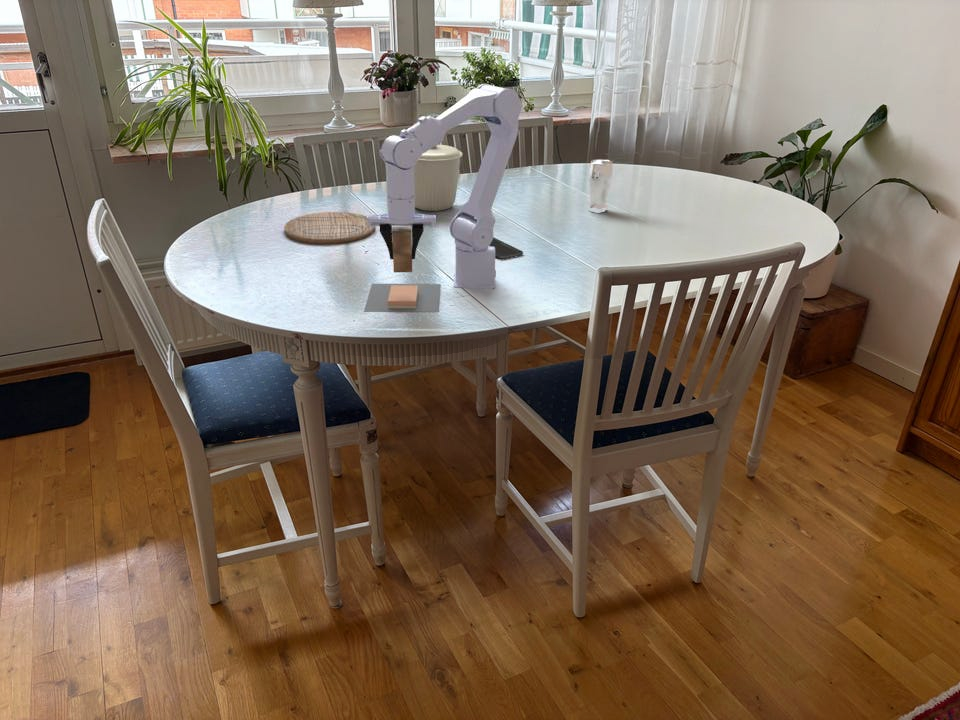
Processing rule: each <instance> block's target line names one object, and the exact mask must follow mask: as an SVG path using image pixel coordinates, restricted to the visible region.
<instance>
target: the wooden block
mask: <svg viewBox="0 0 960 720" xmlns="http://www.w3.org/2000/svg"><path fill="white" fill-rule="evenodd" d="M392 243H393V259H392V262H393V273H413V259H412V226H392Z"/></svg>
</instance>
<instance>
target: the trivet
mask: <svg viewBox="0 0 960 720" xmlns="http://www.w3.org/2000/svg"><path fill="white" fill-rule="evenodd" d="M283 227H284V234H285V236H286V237H288V238H289V239H290V240H292V241H295V242H298V243H303V244H309V245H339V244H346V243H354V242H357V241H361V240H364V239H366V238H368V237H370V236H372V235H373V234H374V233H375V232H376V226H372V227H367V215H363V214H360V213H354V212H347V211H346V212H345V211H325V212H324V211H323V212H316V213H308V214H304V215H303V214H302V215H300V216H296V217H295V218H292V219H289V220H288V221H287V222H286V223H285V225H284V226H283ZM374 231H375V232H374ZM373 232H374V233H373ZM372 233H373V234H372ZM371 234H372V235H371Z"/></svg>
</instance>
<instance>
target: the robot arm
mask: <svg viewBox="0 0 960 720" xmlns="http://www.w3.org/2000/svg"><path fill="white" fill-rule="evenodd" d="M522 109H523V103H522V102H521V99H520V96H519V95H518V93H517V91H516V90H514V89H513V88H508V87H507V88H505V87H501V86H495V85H491V84H490V83H482V84H480V85H478V86H477V87H476V88H473V89H471V90H470V91H469V92H468V93H467V95H465V96H464V97H463V98H461V99H460V100H458V101H457V102H456V103H455V104H453V105H452V106H450V107H449V108H448V109H446V110H445V111H443V112H442V113H441V114H440V115H438V116H437V117H436V118H435V117H433V116H431V115H430V116H423V115H422V116H421V117H419V118H418V122H417V123H415V124H414V125H412V126H410V127H408V128H407V129H402V130H400V133H399V135H394V134H393V135H389V136H388V137H386V139H384V141H383V143H382V144H381V149H379V155H380V158H381V159H382V160H383V162H384V166H385V175H386V176H385V177H386V178H385V180H386V183H385V184H386V200H387V201H386V203H387V204H386V205H387V213H383V214H373V215H371V214H369V215H366V216H367V227H372V226H375V227H378V226H379V233H380V235H381V237H382V239H383V241H384V243H385V245H386V247H387V250H388V254H389V259H390V260H393V242H392V227H400V226H411V238H412V260H416V253H417V248H418V245H419V242H420V240H421V237H422V236H423V232H424V231H425V230H424V226H431V227H436V226H437V217H436V214H424V213H416V209H415V208H416V207H415V198H414V166H415V165H416V163H417V162H418V159H419V157H420V156H421V155H422V154H423V153H425V152H426V151H428V150H430V149H431V148H433V147H434V146H436V145H437V144H438V145H440V143H442V142H443V141H444V138H445V134H446V132H449V131H450V130H452V129H454V128H456V127H457V126H459V125H461V124H463V123H465V122H467V121H468V120H470V119H472V118H473V117H475V116H476V117H477V116H478V117H481V118H482V120H484V121H485V122H486V124H487V127H488V128H489V129H488V130H490V137H489V140H488V143H487V145H486V148H485V152H484V153H483V158H482V160H481V163H480V167H479V169H478V172H477V175H476V178H475V181H474V184H473V187H472V189H471V192H470V195H469V197H468V200H467V201H466V202H465V203H463V204H462V205H461V206H459V209H458V211H457V213H456V215H455V216H453V218H452V219H451V221H450V222H449V223H450V224H449V234H450V236H451V237H452V238H453V239H454V244H455V266H454V267H455V270H454V271H455V274H453V288H457V289H459V288H461V289H462V288H463V289H464V288H465V289H472V288H473V289H495V283H496V282H495V280H496V277H497V273H496V272H497V271H496V258H495V247H491V246H489V245H490V244H491V242H492V240H493V237H494V229H495V228H494V227H495V224H496V218H495V216H494V214H493V211H492V208H493V206H494V203H495V199H496V197H497V194H498V191H499V189H500V185H501V183H502V180H503V177H504V174H505V173H506V172H505V171H506V168H507V165H508V162H509V159H510V157H511V154H512V152H513V148H514V146H515V143H516V140H517V138H518V137H517V136H518V133H519V117H520V114H521V111H522Z"/></svg>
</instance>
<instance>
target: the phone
mask: <svg viewBox="0 0 960 720" xmlns="http://www.w3.org/2000/svg"><path fill="white" fill-rule="evenodd" d="M489 246H491V247H495V257H496V258H495V259H496V260H499V259H502V260H503V259H504V260H507V258H509V259H512V258H511V257H513V258H516V257H515V256H518V257H520V256H519V255H522V254H523V255H524V251H522V250H521V249H519V248H517V247H514V246H512V245H511V244H509V243H506V242H504V241H502V240H500V239H498V238H496V237H494V236H493V240H492V242H491V244H490V245H489ZM523 255H522V256H523ZM502 260H501V261H502Z"/></svg>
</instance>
